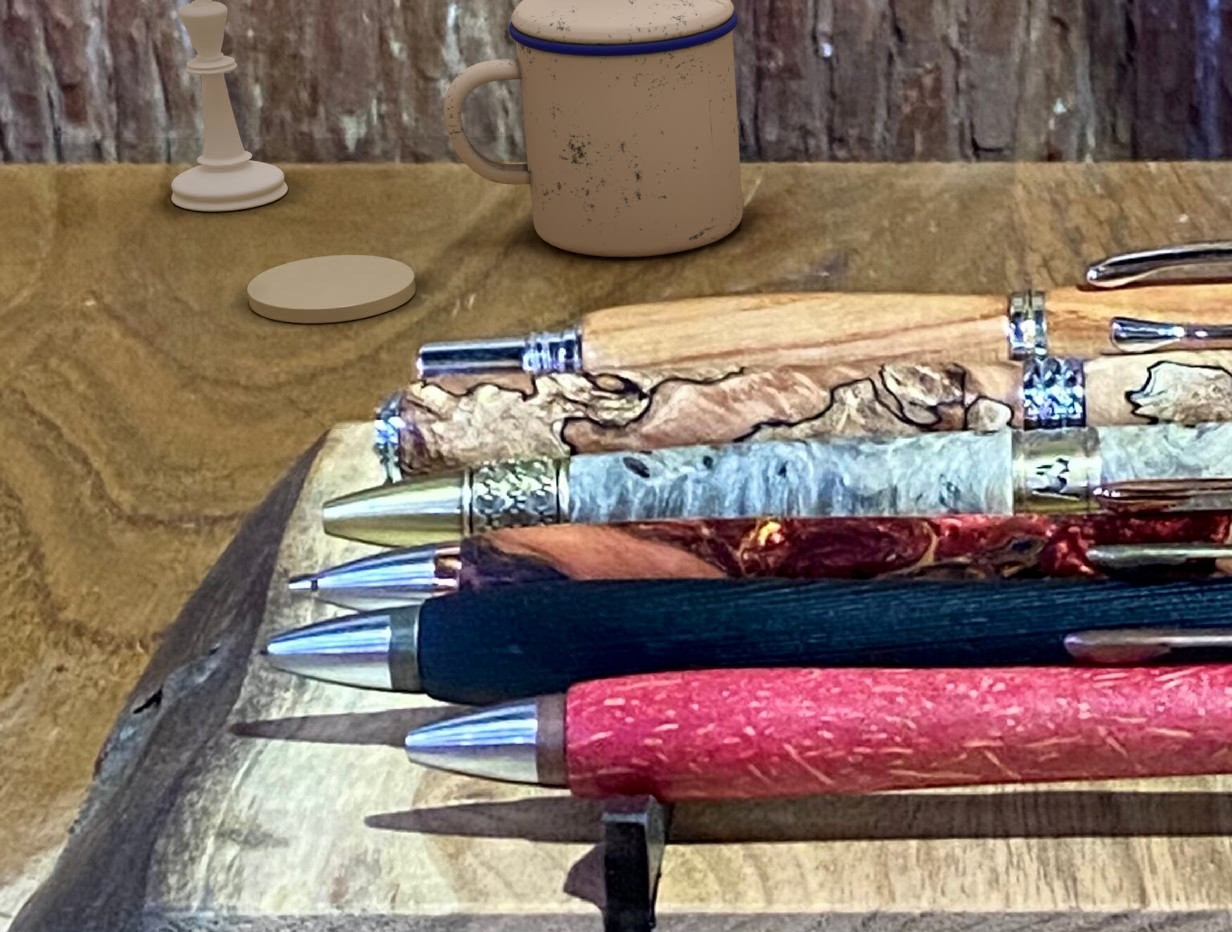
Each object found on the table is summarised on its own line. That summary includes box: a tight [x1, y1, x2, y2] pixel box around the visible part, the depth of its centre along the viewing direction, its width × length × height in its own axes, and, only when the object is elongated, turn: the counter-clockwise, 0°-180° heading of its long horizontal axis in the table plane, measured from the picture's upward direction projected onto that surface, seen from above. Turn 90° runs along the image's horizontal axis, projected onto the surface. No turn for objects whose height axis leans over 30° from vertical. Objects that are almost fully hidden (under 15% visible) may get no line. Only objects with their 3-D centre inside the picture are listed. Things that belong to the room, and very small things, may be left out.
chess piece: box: [170, 0, 289, 212], centre depth 114 cm, size 5×5×10 cm
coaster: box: [246, 254, 417, 324], centre depth 104 cm, size 6×6×1 cm
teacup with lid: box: [443, 0, 744, 258], centre depth 108 cm, size 12×9×12 cm
